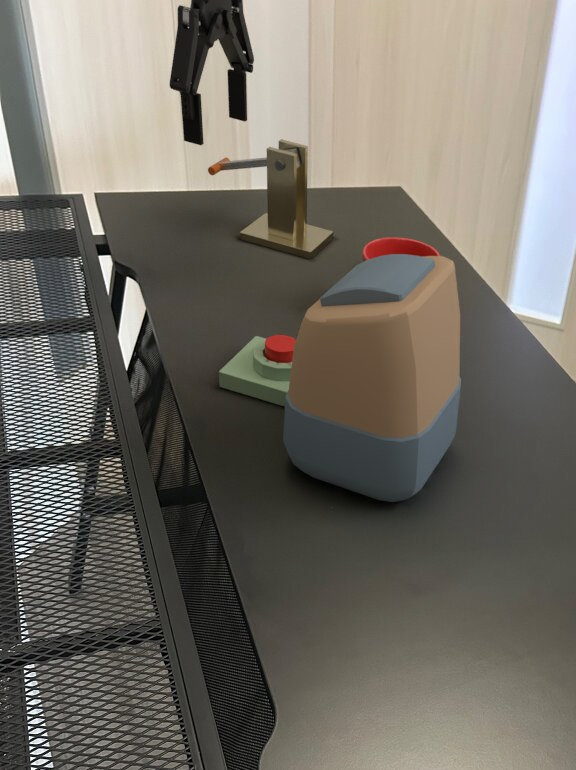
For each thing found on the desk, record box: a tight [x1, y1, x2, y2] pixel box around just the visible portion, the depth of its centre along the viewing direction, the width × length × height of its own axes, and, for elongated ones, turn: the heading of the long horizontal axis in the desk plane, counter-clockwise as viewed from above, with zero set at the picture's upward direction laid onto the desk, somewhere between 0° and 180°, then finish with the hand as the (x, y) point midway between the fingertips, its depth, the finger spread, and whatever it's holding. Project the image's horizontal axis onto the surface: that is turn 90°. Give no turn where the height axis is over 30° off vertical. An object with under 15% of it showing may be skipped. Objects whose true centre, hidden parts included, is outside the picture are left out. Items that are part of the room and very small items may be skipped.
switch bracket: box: [239, 138, 334, 260], centre depth 132 cm, size 12×9×14 cm
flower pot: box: [361, 236, 441, 262], centre depth 120 cm, size 11×11×10 cm
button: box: [265, 334, 296, 363], centre depth 105 cm, size 4×4×2 cm
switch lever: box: [207, 149, 301, 176], centre depth 130 cm, size 14×5×2 cm, turn 72°
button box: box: [218, 335, 292, 408], centre depth 107 cm, size 12×10×4 cm
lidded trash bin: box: [282, 254, 462, 503], centre depth 91 cm, size 17×17×23 cm
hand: (216, 130), depth 128 cm, fingers open, 13 cm apart
